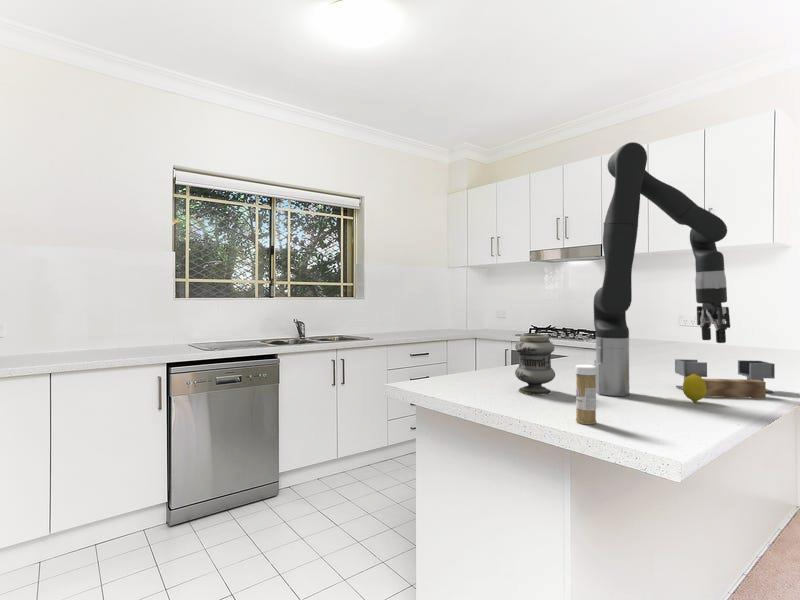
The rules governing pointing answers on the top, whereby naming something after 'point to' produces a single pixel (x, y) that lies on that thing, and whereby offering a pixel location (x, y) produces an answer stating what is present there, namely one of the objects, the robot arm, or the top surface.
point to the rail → (735, 388)
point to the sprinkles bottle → (586, 394)
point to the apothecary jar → (535, 363)
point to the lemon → (694, 387)
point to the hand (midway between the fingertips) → (713, 341)
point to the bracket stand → (745, 368)
